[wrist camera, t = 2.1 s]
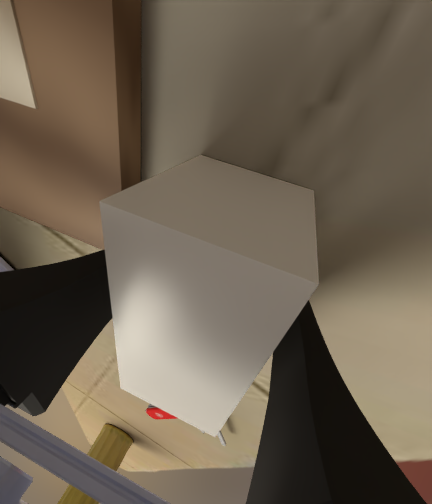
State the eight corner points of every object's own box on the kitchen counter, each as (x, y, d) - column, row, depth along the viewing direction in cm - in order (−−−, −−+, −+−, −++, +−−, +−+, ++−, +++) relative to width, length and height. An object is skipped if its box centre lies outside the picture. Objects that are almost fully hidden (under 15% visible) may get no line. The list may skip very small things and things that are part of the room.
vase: (100, 419, 41) (19, 540, 29) (127, 431, 39) (52, 566, 27) (111, 434, 44) (43, 548, 33) (137, 446, 42) (74, 572, 30)
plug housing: (245, 332, 15) (215, 437, 10) (177, 302, 16) (120, 388, 11) (313, 190, 9) (319, 284, 4) (200, 154, 10) (99, 201, 5)
